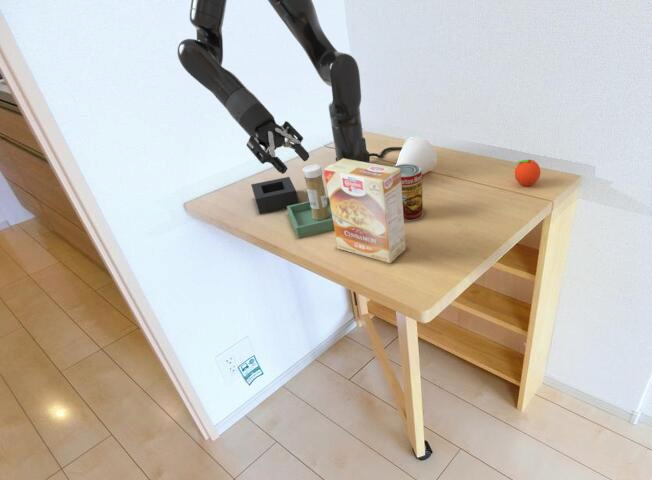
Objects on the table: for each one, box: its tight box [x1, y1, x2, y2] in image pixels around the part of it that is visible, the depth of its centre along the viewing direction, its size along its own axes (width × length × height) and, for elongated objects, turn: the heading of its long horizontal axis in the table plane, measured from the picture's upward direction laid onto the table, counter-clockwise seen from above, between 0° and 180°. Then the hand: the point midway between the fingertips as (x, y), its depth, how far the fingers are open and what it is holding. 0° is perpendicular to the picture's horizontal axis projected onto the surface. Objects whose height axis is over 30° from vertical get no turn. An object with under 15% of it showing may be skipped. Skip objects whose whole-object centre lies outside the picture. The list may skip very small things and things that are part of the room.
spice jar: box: [302, 163, 330, 220], centre depth 110 cm, size 5×5×14 cm
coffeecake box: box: [323, 158, 407, 264], centre depth 96 cm, size 15×7×20 cm, turn 58°
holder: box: [251, 176, 300, 215], centre depth 124 cm, size 11×11×4 cm
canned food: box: [393, 164, 424, 222], centre depth 111 cm, size 8×8×12 cm
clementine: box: [514, 159, 541, 187], centre depth 122 cm, size 8×7×7 cm
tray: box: [286, 196, 335, 239], centre depth 114 cm, size 16×14×3 cm
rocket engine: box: [394, 135, 438, 176], centre depth 128 cm, size 12×12×18 cm
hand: (296, 165), depth 109 cm, fingers open, 8 cm apart
